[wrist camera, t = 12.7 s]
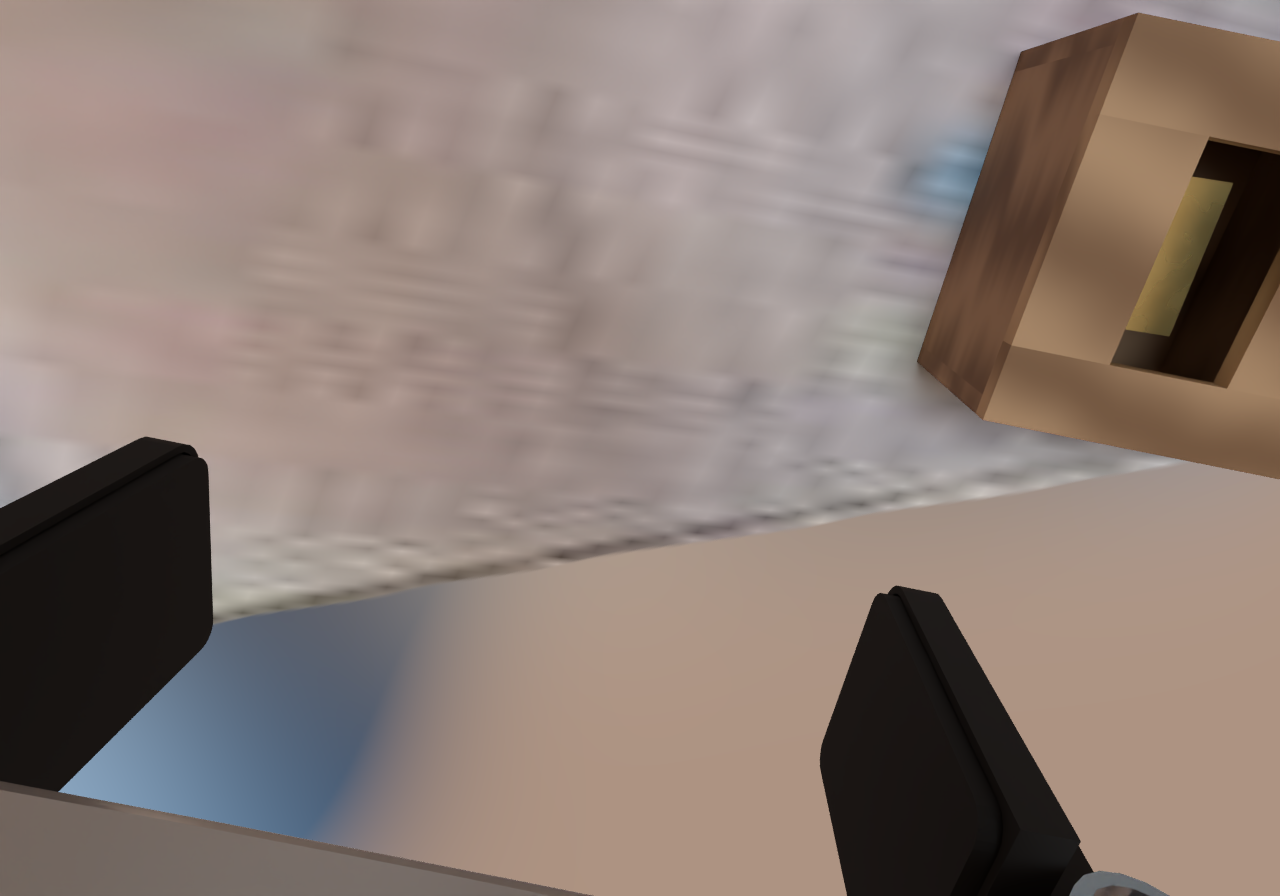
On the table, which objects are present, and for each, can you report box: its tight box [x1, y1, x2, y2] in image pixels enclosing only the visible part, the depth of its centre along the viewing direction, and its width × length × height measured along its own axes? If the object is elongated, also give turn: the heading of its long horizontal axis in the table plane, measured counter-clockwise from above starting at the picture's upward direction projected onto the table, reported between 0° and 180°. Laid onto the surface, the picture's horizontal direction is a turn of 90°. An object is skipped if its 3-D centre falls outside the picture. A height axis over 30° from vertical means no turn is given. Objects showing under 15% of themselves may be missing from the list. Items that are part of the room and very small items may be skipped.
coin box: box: [917, 13, 1280, 479], centre depth 30 cm, size 14×12×9 cm
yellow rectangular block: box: [1126, 177, 1233, 336], centre depth 32 cm, size 6×3×5 cm, turn 172°
